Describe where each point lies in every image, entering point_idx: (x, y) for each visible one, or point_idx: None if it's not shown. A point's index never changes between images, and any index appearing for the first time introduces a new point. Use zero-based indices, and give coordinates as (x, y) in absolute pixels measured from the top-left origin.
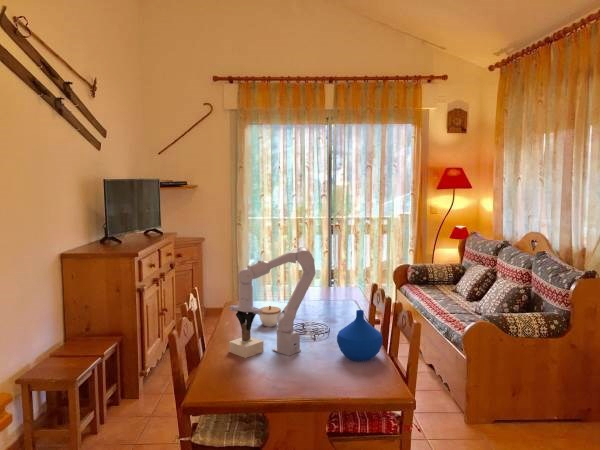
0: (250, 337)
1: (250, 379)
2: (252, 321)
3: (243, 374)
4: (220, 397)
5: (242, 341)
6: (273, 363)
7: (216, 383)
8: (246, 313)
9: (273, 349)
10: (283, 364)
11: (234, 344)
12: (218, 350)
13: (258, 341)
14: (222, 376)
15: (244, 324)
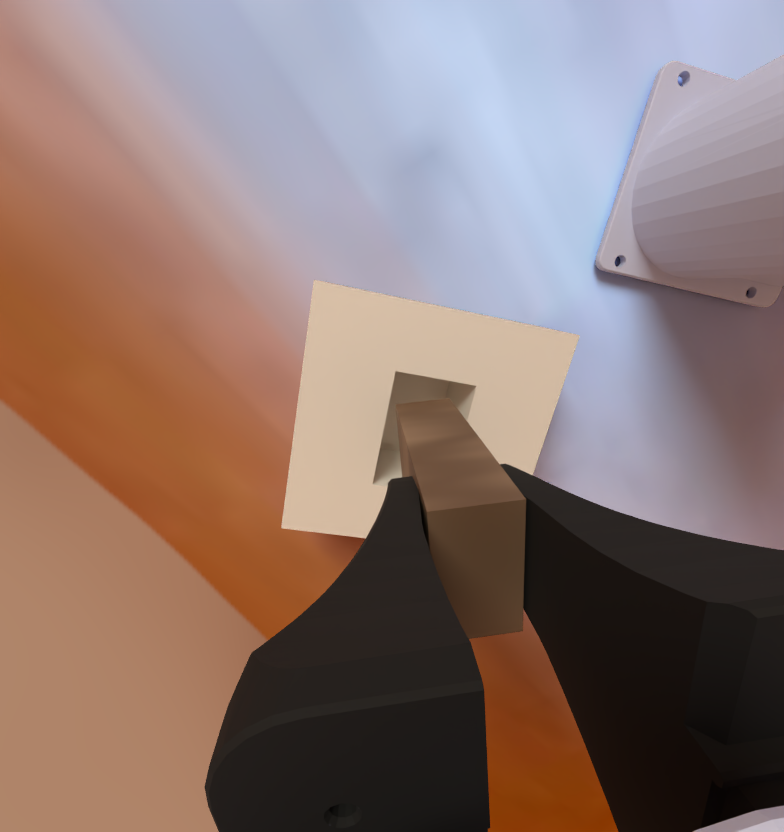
0: (452, 402)
1: None
2: (603, 515)
3: None
4: (613, 823)
5: (379, 445)
6: (695, 471)
7: (527, 773)
8: (453, 622)
9: (611, 264)
10: (764, 450)
11: (360, 532)
12: (199, 496)
13: (538, 375)
14: (508, 724)
15: (492, 629)
